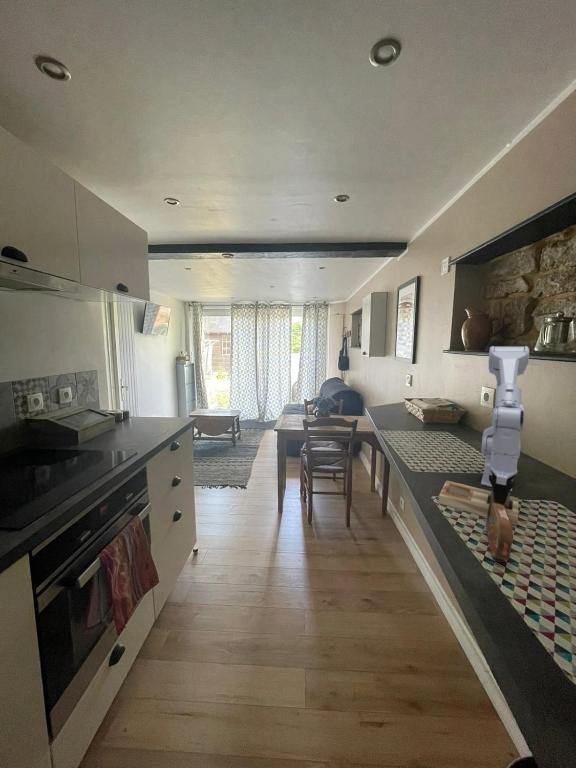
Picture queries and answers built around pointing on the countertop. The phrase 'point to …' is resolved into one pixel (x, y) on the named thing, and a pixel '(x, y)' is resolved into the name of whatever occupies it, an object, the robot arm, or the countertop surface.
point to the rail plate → (473, 500)
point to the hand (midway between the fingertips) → (500, 499)
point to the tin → (499, 531)
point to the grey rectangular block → (499, 503)
